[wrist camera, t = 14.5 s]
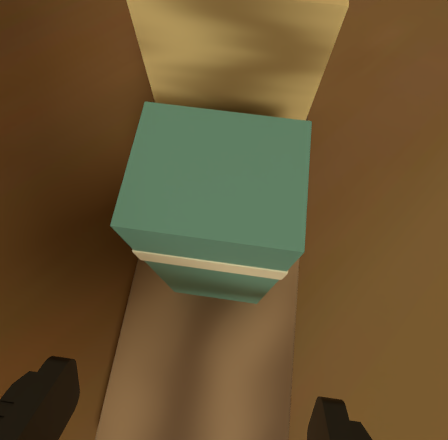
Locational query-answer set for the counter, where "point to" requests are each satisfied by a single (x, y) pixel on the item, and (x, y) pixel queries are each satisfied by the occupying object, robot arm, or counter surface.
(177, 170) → the teal book
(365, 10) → the counter surface
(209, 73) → the book rack
